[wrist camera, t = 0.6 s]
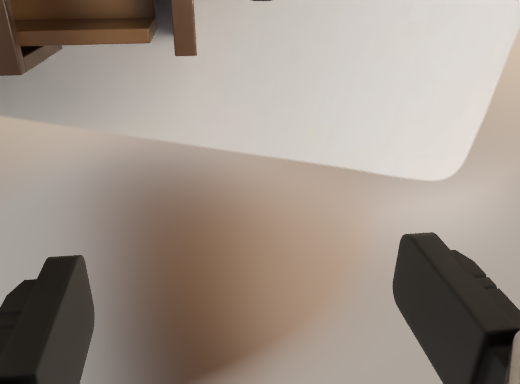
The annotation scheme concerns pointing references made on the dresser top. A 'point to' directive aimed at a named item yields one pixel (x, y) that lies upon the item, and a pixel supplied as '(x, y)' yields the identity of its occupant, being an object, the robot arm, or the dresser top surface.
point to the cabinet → (18, 46)
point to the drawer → (101, 22)
